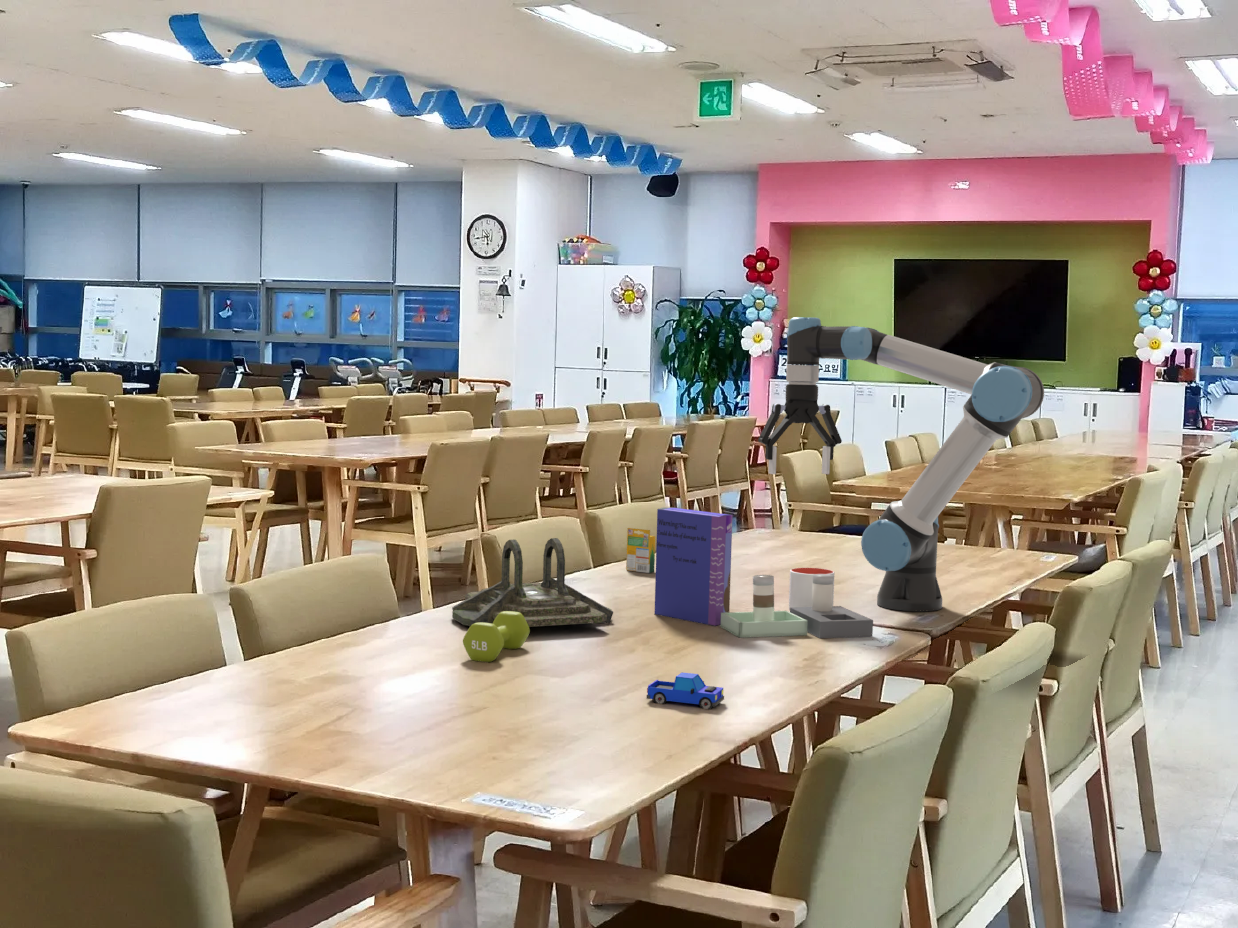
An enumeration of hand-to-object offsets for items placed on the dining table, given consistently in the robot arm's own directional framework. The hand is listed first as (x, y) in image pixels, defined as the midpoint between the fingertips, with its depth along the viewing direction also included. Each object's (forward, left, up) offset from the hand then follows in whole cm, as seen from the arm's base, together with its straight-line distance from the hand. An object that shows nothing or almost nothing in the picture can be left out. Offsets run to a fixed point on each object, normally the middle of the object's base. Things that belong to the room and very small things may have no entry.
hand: (798, 474), depth 325 cm
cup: (+2, +14, -31) cm, 34 cm away
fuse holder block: (+5, +31, -31) cm, 44 cm away
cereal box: (+31, +15, -31) cm, 46 cm away
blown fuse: (+20, +30, -30) cm, 47 cm away
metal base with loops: (+66, +11, -31) cm, 74 cm away
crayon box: (+23, -50, -31) cm, 63 cm away
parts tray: (+20, +30, -31) cm, 47 cm away
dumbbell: (+80, +42, -31) cm, 95 cm away
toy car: (+56, +84, -31) cm, 106 cm away
